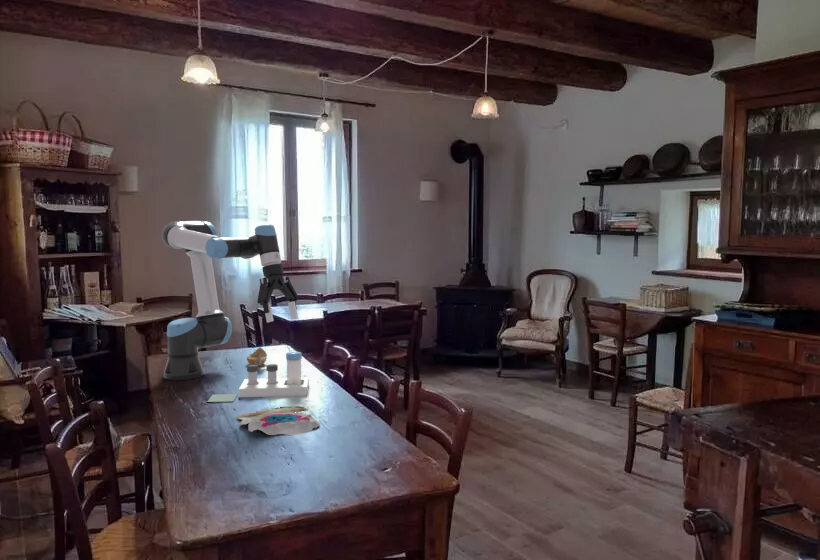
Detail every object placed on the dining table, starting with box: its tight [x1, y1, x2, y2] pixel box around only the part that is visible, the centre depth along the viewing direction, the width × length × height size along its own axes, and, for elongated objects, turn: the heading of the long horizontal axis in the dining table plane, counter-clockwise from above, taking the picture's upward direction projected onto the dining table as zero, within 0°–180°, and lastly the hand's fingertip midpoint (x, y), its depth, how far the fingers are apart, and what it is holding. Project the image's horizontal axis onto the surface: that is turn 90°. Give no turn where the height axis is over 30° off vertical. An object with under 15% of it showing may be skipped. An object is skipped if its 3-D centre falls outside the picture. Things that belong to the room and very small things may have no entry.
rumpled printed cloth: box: [236, 406, 321, 436], centre depth 192 cm, size 24×29×3 cm
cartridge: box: [285, 351, 302, 385], centre depth 223 cm, size 6×6×14 cm
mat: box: [206, 393, 239, 403], centre depth 216 cm, size 9×9×1 cm
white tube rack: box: [238, 376, 310, 398], centre depth 223 cm, size 14×24×4 cm, turn 97°
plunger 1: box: [246, 364, 259, 385], centre depth 221 cm, size 4×4×7 cm
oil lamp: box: [246, 346, 268, 367], centre depth 268 cm, size 9×21×10 cm, turn 24°
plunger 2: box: [266, 363, 279, 385], centre depth 222 cm, size 4×4×7 cm
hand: (282, 320), depth 226 cm, fingers open, 13 cm apart
